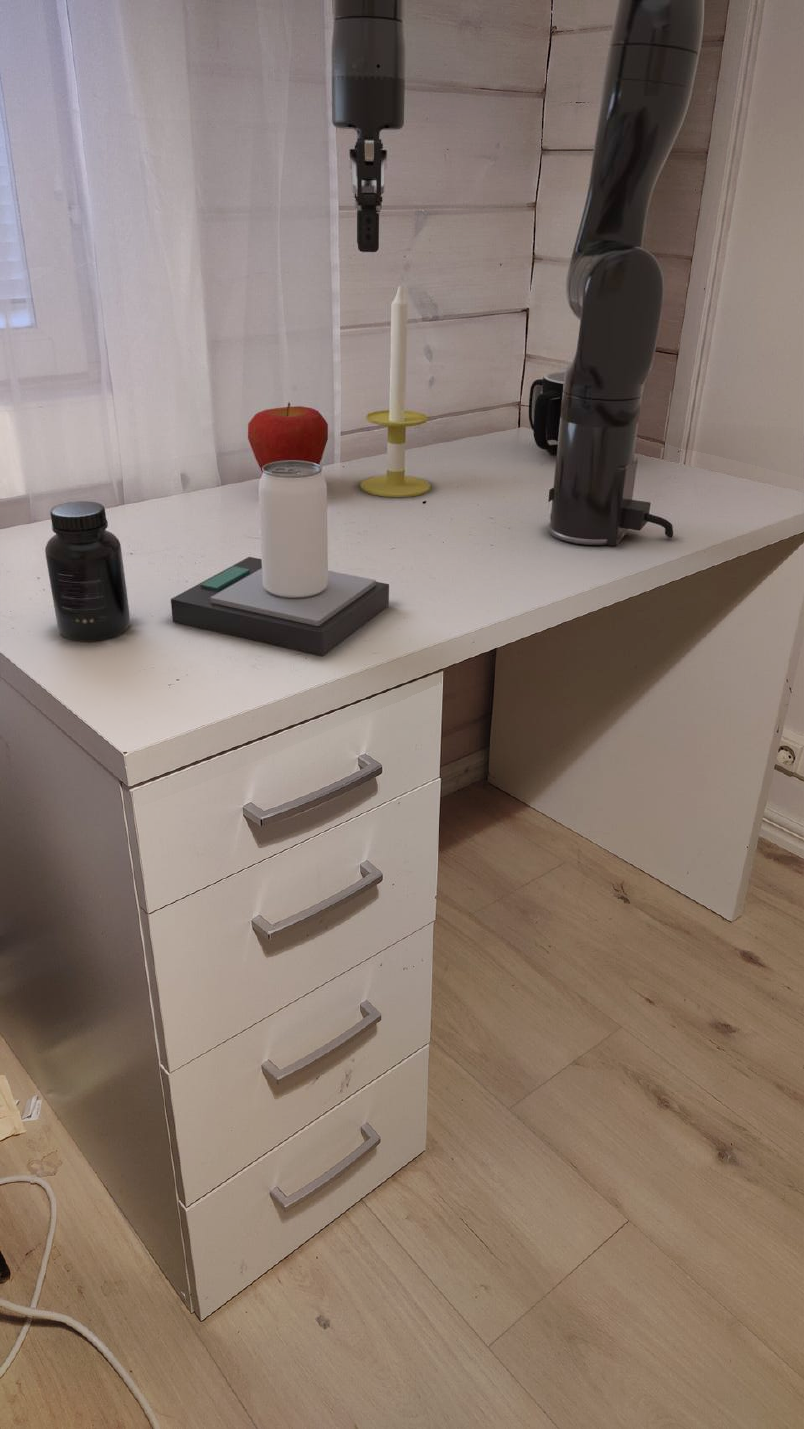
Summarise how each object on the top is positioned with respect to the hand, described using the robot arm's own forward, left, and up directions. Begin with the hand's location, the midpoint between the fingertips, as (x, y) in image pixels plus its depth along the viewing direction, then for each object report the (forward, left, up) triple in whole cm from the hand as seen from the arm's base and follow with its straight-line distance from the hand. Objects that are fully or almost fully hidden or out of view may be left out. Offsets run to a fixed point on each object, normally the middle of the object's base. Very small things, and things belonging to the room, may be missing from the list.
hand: (367, 249), depth 111 cm
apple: (+17, -10, -32) cm, 38 cm away
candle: (+5, -19, -32) cm, 38 cm away
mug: (-12, -51, -32) cm, 61 cm away
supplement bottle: (+9, +40, -32) cm, 52 cm away
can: (-6, +28, -29) cm, 41 cm away
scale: (-5, +28, -32) cm, 43 cm away
